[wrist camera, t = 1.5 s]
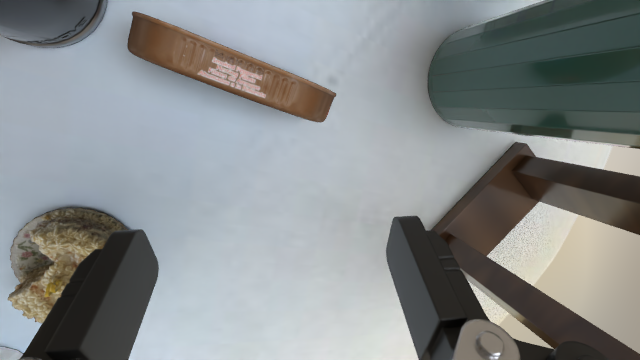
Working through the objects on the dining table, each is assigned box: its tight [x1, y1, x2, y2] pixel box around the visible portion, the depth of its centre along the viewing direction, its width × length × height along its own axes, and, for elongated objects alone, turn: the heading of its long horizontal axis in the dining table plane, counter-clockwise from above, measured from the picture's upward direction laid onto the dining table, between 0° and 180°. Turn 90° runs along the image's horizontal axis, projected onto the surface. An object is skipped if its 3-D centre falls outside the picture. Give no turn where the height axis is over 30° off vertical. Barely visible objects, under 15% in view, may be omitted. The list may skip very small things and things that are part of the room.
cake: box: [8, 208, 129, 323], centre depth 26 cm, size 10×10×5 cm
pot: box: [428, 0, 640, 149], centre depth 23 cm, size 10×10×21 cm
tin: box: [128, 12, 336, 122], centre depth 24 cm, size 15×3×8 cm, turn 70°
